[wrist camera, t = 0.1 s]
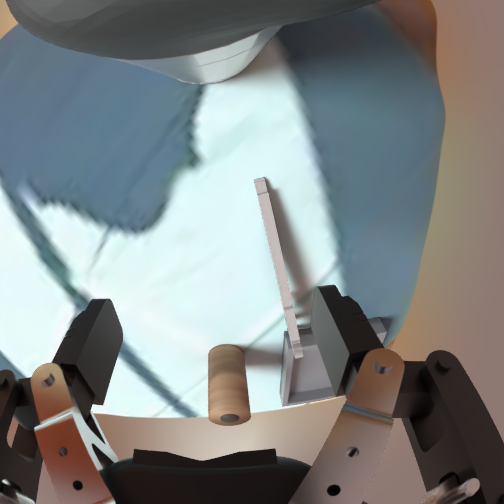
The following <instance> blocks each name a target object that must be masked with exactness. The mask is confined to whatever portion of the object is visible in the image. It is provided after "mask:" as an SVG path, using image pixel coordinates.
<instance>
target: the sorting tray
mask: <svg viewBox="0 0 504 504" xmlns="http://www.w3.org/2000/svg"><path fill="white" fill-rule="evenodd" d="M368 322H369V323H370V324H371V326H372V328H373V329H374V331H375V333H376V334H377V336H378V338H379V340H380V341H381V343H383V340H384V338H385V336H386V333H387V331H386V329H385V327H384V326H383V324H382V322H381V320H380V319H379V317H378V318H373V319H368ZM298 333H299V338H300V343H301V346H302V352H303V356H304V357H300V358H296V359H295V356H294V353H293V349H292V345H291V341H290V337H289V333H288V331H285V332H284V344H283V358H282V371H281V383H280V396H281V402H282V407H283V406H290V405H297V404H303V403H309V402H315V401H320V400H325V399H330V398H335V394H334V391H333V388H332V385H331V382H330V379H329V377H328V374H327V371H326V368H325V365H324V363H323V360H322V357H321V354H320V351H319V349H318V346H317V343H316V340H315V338H314V335H313V332H312V328H310V329H302V330H298ZM342 396H345V395H342ZM338 397H340V396H338Z"/></svg>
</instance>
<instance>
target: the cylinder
mask: <svg viewBox="0 0 504 504" xmlns="http://www.w3.org/2000/svg"><path fill="white" fill-rule="evenodd" d="M208 413H209V420H210V421H211V422H213V423H215V424H218V425H224V426H233V425H239V424H242V423H245V422H247V421H248V420H249V419H250V418H251V415H250V405H249V396H248V387H247V378H246V368H245V358H244V352H243V350H242V349H241V348H239V347H237V346H235V345H230V344H223V345H218V346H216V347H214V348H212V349H211V350H210V352H209V354H208Z"/></svg>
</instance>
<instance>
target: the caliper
mask: <svg viewBox="0 0 504 504" xmlns="http://www.w3.org/2000/svg"><path fill="white" fill-rule="evenodd" d="M254 183H255V187H256V191H257V196H258V200H259V204H260V208H261V213H262V217H263V221H264V225H265V229H266V234H267V238H268V242H269V246H270V251H271V255H272V259H273V264H274V268H275V272H276V277H277V281H278V286H279V290H280V294H281V300H282V304H283V309H284V313H285V317H286V318H285V320H286V324H287V329H288V333H289V337H290V341H291V345H292V349H293V353H294V356H295V359H296V358H300V357H304V356H303V352H302V346H301V343H300V338H299V333H298V328H297V323H296V318H295V313H294V308H293V304H292V299H291V294H290V289H289V284H288V280H287V275H286V270H285V265H284V261H283V256H282V251H281V247H280V242H279V238H278V233H277V229H276V224H275V220H274V215H273V211H272V207H271V202H270V198H269V194H268V191H267V187H266V183H265V179H264V177H263V178H259V179H255V180H254Z"/></svg>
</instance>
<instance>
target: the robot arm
mask: <svg viewBox="0 0 504 504" xmlns="http://www.w3.org/2000/svg"><path fill="white" fill-rule="evenodd" d="M377 1H380V0H6V2H7V5H8V7H9V9H10V12H11V13H12V15H13V16H14V18H15V19H16V21H17V22H18V23H19V24H20V25H21V26H22V27H23V28H24V29H26V30H27V31H29V32H30V33H31V34H33V35H34V36H36V37H38V38H40V39H42V40H44V41H46V42H49V43H51V44H54V45H57V46H60V47H63V48H67V49H71V50H75V51H79V52H83V53H88V54H93V55H97V56H101V57H105V58H109V59H113V60H117V61H120V62H124V63H128V64H132V65H135V66H139V67H142V68H145V69H148V70H152V71H155V72H158V73H161V74H164V75H167V76H170V77H172V78H175V79H178V80H179V81H182V82H186V83H192V84H212V83H217V82H221V81H224V80H227V79H229V78H231V77H233V76H235V75H237V74H238V73H240V72H241V71H242V70H243V69H245V68H246V67H247V66H248V65H249V64H250V63H251V61H252V60H253V59H254V58H255V57H256V56H257V55H258V53H259V52H260V51H261V50H262V49H263V48H264V46H265V45H266V44H267V43H268V42H269V41H270V39H271V38H272V37H273V36H274V35H275V34H276V33H277V32H278V31H279V29H280V28H281V27H282V26H283V25H289V24H294V23H300V22H306V21H311V20H315V19H320V18H325V17H329V16H333V15H337V14H340V13H344V12H347V11H351V10H354V9H357V8H360V7H363V6H366V5H369V4H372V3H375V2H377ZM311 327H312V332H313V335H314V338H315V340H316V343H317V346H318V349H319V351H320V354H321V357H322V360H323V363H324V365H325V368H326V371H327V374H328V377H329V379H330V382H331V385H332V388H333V391H334V394H335V397H338V396H342V395H345V396H346V398H347V400H346V402H345V404H344V406H343V408H342V410H341V412H340V414H339V416H338V418H337V420H336V422H335V424H334V426H333V428H332V430H331V432H330V434H329V436H328V438H327V440H326V441H325V443H324V445H323V447H322V449H321V451H320V452H319V454H318V456H317V458H316V460H315V461H314V463H313V465H312V466H310V465H308V464H306V463H303V462H301V461H298V460H295V459H291V458H285V457H279V456H276V450H275V449H267V450H256V451H245V452H237V453H233V454H229V455H226V456H222V457H218V458H214V459H210V460H205V461H199V460H195V459H191V458H187V457H182V456H179V455H176V454H172V453H168V452H160V451H148V450H138V449H134V454H133V457H131V458H127V459H123V460H119V458H118V457H117V456H116V455H115V453H114V452H113V450H112V449H111V447H110V446H109V444H108V442H107V440H106V438H105V436H104V434H103V432H102V430H101V428H100V426H99V424H98V422H97V420H96V418H95V416H94V414H93V412H92V411H91V407H92V404H96V405H103V404H104V400H105V397H106V393H107V390H108V386H109V383H110V379H111V376H112V373H113V370H114V366H115V363H116V360H117V357H118V354H119V351H120V348H121V345H122V341H123V331H122V327H121V324H120V322H119V319H118V316H117V314H116V311H115V308H114V306H113V303H112V301H111V300H110V299H92V300H91V301H90V303H89V305H88V307H87V308H86V310H85V311H82V312H81V313H80V314H79V315H78V316H77V317H76V318H75V319H74V320H73V322H72V324H71V326H70V328H69V330H68V331H67V333H66V335H65V336H66V337H64V339H63V341H62V343H61V345H60V347H59V349H58V351H57V353H56V355H55V357H54V359H53V361H52V363H46V364H43V365H41V366H40V367H38V368H37V369H36V370H35V371H34V373H33V375H32V377H30V378H24V379H17V377H16V376H15V375H14V373H13V372H12V371H10V370H2V371H0V504H36V498H37V491H38V484H39V478H40V473H41V467H42V462H43V460H44V463H45V466H46V469H47V471H48V474H49V476H50V479H51V482H52V484H53V486H54V489H55V491H56V493H57V496H58V498H59V500H60V502H61V504H367V503H366V502H364V501H363V500H364V498H365V495H366V493H367V491H368V489H369V487H370V485H371V482H372V480H373V478H374V475H375V473H376V471H377V468H378V466H379V463H380V461H381V458H382V455H383V453H384V450H385V447H386V444H387V442H388V438H389V436H390V433H391V430H392V426H393V421H394V420H393V419H391V418H401V419H402V421H403V424H404V426H405V429H406V432H407V434H408V437H409V440H410V443H411V446H412V449H413V451H414V454H415V457H416V460H417V463H418V466H419V469H420V472H421V475H422V478H423V481H424V485H425V488H426V491H427V493H426V494H425V495H424V497H423V498H422V500H421V502H420V504H504V443H503V441H502V439H501V436H500V434H499V432H498V430H497V428H496V426H495V424H494V422H493V420H492V418H491V417H490V414H489V412H488V410H487V409H486V406H485V405H484V403H483V401H482V399H481V397H480V395H479V394H478V392H477V390H476V389H475V387H474V385H473V383H472V382H471V380H470V378H469V376H468V375H467V374H466V372H465V370H464V368H463V367H462V365H461V364H460V362H459V360H458V359H457V358H456V357H455V356H454V355H453V354H451V353H450V352H447V351H443V350H437V351H434V352H432V353H430V354H429V356H428V357H427V359H426V361H403V360H402V358H401V357H400V356H399V355H398V354H397V353H396V352H394V351H392V350H389V349H385V348H384V347H383V345H382V343H381V341H380V340H379V338H378V336H377V334H376V333H375V331H374V329H373V328H372V326H371V324H370V323H369V322H368V319H367V317H366V316H365V314H363V311H362V309H361V308H360V306H359V304H358V303H357V302H356V301H354V300H353V299H352V298H350V297H349V296H344V297H342V296H341V294H340V292H339V291H338V289H337V287H336V286H335V285H326V286H316V287H315V289H314V296H313V305H312V313H311ZM12 418H14V419H15V420H16V421H17V422H18V423H19V424H18V427H17V431H16V434H15V437H14V441H13V444H12V448H10V446H9V445H8V443H7V433H8V430H9V427H10V424H11V421H12Z"/></svg>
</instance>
